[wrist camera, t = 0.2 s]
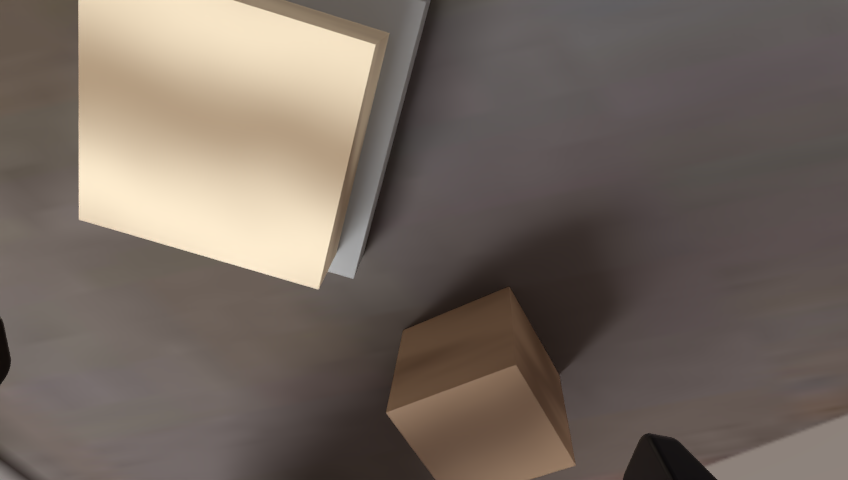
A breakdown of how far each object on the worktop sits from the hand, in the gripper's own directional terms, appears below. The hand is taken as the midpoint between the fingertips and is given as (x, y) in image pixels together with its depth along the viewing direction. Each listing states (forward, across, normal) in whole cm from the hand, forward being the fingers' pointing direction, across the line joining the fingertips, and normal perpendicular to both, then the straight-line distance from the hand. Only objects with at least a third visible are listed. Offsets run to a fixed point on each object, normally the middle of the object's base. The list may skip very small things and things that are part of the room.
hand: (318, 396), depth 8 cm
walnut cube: (+14, -4, +9) cm, 17 cm away
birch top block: (+12, +6, 0) cm, 13 cm away
